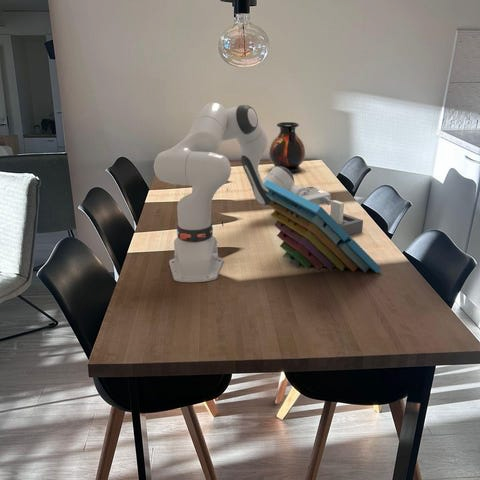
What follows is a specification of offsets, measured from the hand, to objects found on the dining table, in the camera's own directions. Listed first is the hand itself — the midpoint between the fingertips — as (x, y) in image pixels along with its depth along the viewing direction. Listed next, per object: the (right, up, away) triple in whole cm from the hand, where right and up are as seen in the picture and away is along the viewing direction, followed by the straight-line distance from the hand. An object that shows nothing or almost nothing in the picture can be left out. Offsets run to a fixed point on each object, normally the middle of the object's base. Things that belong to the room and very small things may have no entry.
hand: (322, 204), depth 200 cm
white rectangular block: (+5, -11, -3) cm, 12 cm away
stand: (+5, -12, -3) cm, 13 cm away
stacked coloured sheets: (-6, -22, -28) cm, 35 cm away
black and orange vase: (-5, +27, +97) cm, 101 cm away
